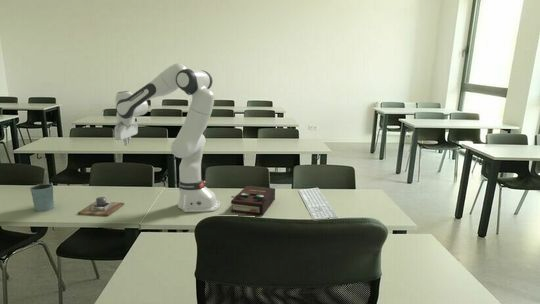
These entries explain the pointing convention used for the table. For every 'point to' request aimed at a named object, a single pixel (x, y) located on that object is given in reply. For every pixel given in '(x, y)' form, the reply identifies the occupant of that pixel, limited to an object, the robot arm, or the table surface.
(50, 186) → the blue cup
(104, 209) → the board
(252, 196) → the decorative book
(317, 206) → the keyboard
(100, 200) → the black cap
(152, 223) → the table surface
